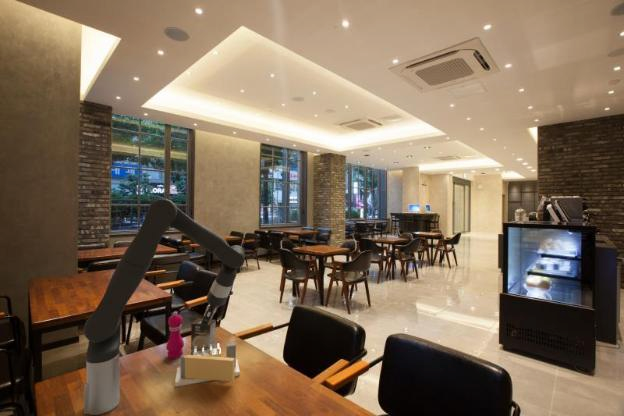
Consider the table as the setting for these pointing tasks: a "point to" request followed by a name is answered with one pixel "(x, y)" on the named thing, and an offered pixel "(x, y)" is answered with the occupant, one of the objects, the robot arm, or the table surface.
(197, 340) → the coffee box
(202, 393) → the table surface
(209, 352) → the white toothed block
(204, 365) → the leaning tan board
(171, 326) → the pepper mill
